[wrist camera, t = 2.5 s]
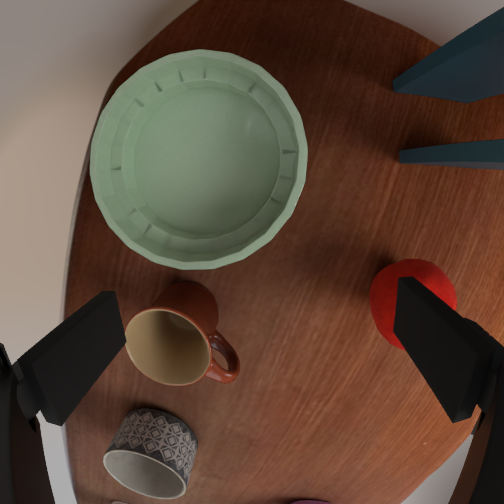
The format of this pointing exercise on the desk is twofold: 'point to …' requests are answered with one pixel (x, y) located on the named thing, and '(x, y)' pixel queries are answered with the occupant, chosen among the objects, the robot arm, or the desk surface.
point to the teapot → (310, 502)
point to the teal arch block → (460, 90)
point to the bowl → (198, 159)
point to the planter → (152, 454)
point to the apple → (386, 291)
